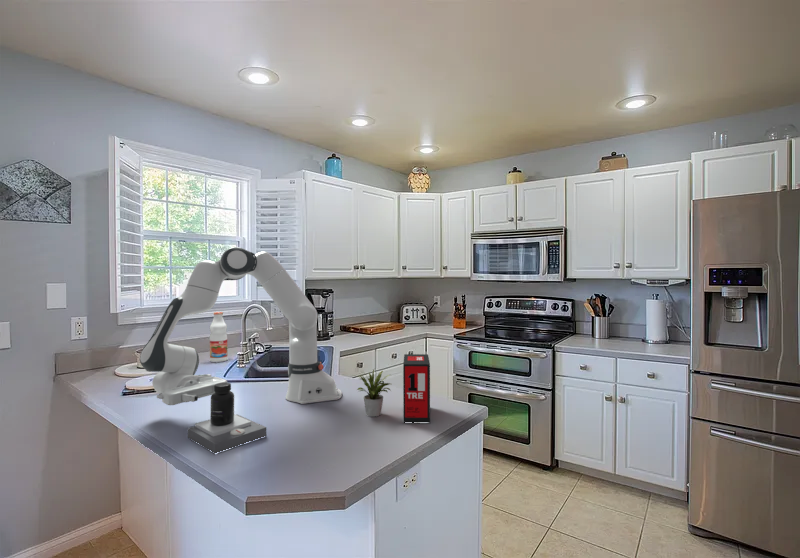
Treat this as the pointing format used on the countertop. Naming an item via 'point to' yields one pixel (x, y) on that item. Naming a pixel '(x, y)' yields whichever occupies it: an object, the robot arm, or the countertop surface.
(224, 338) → the fruit juice
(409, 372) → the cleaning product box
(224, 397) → the supplement bottle
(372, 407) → the house plant
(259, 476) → the countertop surface
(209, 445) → the kitchen scale
